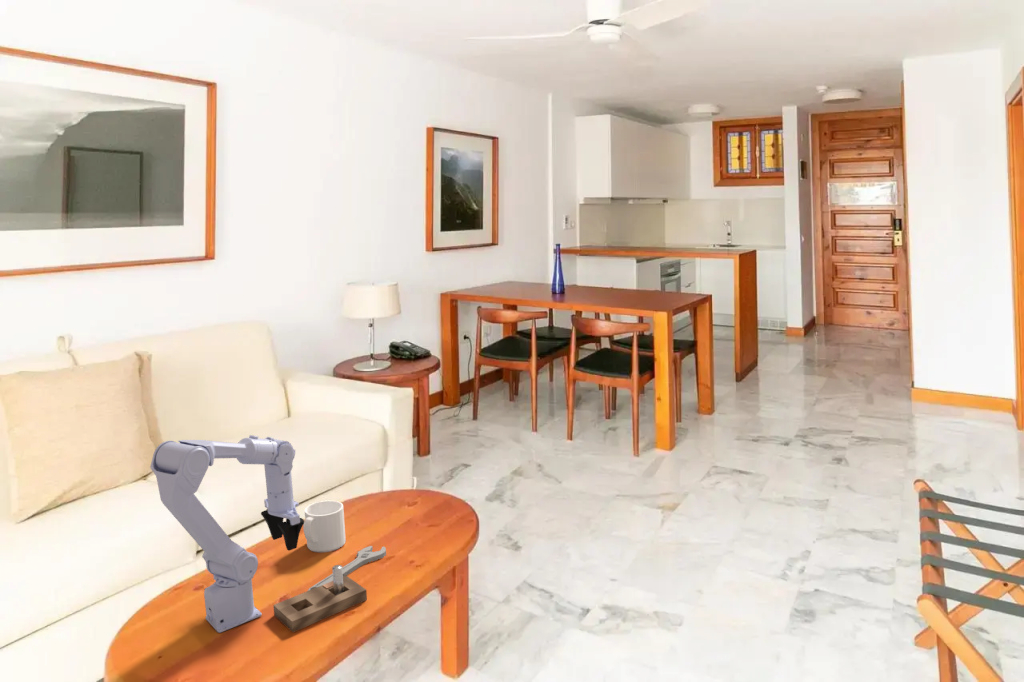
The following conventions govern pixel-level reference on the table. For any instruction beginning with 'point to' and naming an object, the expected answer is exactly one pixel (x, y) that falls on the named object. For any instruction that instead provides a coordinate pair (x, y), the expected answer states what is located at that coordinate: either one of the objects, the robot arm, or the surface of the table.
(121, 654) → the table surface
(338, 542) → the mug
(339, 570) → the steel pin
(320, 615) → the dock board
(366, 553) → the adjustable wrench
